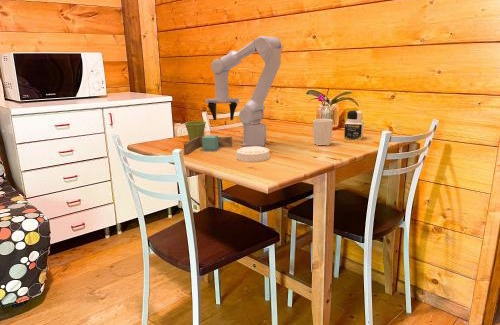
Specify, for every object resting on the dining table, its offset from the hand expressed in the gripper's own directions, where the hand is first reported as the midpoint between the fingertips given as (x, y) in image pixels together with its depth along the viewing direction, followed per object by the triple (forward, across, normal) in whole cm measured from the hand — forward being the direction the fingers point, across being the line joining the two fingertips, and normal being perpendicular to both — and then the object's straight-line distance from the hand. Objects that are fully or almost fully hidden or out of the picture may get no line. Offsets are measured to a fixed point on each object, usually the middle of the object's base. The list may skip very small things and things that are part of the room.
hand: (223, 119), depth 166 cm
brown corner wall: (+9, -1, -18) cm, 21 cm away
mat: (+9, -1, -16) cm, 19 cm away
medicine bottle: (+10, +56, +9) cm, 58 cm away
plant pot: (+10, -12, -3) cm, 16 cm away
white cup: (+10, +43, -4) cm, 44 cm away
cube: (+9, -1, -17) cm, 19 cm away
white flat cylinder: (+10, +19, -29) cm, 36 cm away
